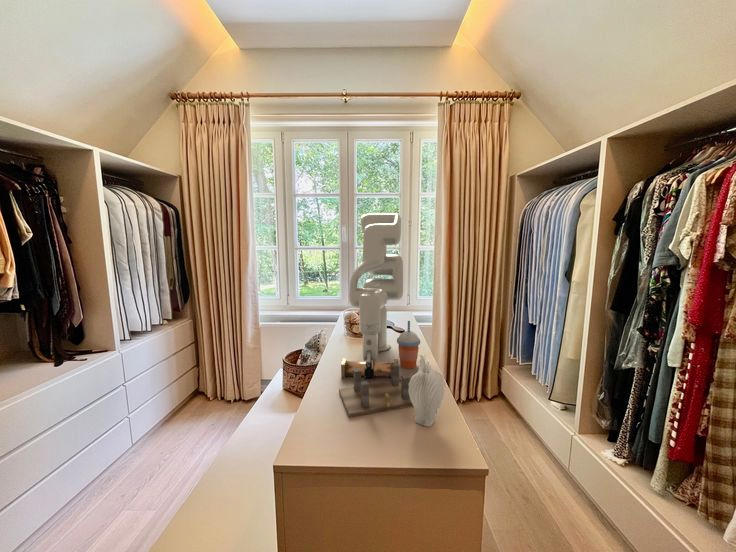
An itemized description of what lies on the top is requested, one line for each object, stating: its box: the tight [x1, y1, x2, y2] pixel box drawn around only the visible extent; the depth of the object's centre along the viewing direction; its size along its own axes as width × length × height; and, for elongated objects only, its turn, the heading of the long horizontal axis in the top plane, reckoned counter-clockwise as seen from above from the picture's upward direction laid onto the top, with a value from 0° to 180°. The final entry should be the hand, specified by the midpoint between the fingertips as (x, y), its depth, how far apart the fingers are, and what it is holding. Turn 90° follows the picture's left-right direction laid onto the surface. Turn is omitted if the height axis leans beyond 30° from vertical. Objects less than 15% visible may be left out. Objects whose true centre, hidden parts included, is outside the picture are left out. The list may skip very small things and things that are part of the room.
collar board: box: [338, 363, 414, 418], centre depth 93 cm, size 14×24×8 cm, turn 107°
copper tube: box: [340, 357, 399, 380], centre depth 108 cm, size 20×6×6 cm, turn 87°
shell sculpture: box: [408, 354, 446, 427], centre depth 80 cm, size 8×8×18 cm
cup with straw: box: [396, 320, 421, 369], centre depth 115 cm, size 9×9×18 cm
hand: (369, 372), depth 108 cm, fingers open, 8 cm apart
